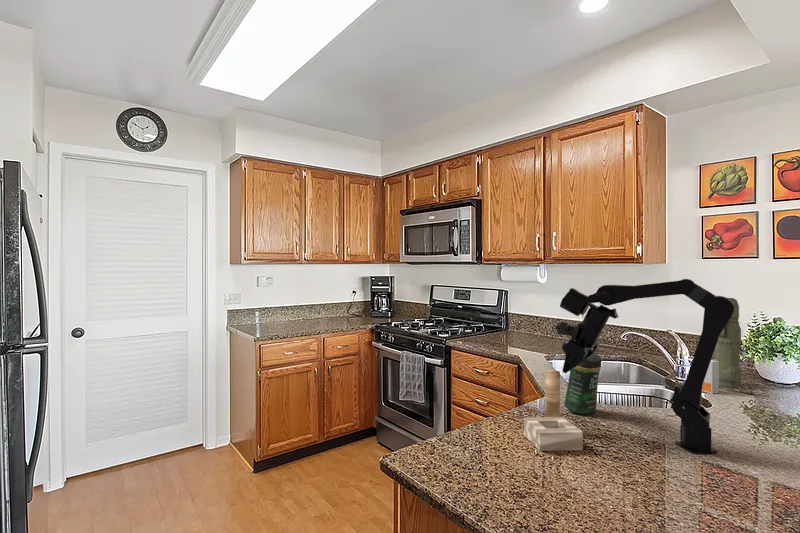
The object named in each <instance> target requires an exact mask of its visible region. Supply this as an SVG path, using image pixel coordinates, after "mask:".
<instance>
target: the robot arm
mask: <svg viewBox="0 0 800 533" xmlns="http://www.w3.org/2000/svg"><path fill="white" fill-rule="evenodd" d="M675 295H678V296H679V295H684V296H686V297H687V298H689V299H690V300H692V301H693V302H694V303H696V304H697V305H698V306H701V307H702V308H703V309H704V311H703V312H704V313H703V323H702V331H701V334H700V338H699V340H698V343H697V346H696V348H695V352H694V354H693V357H692V361H691V364H690V367H689V370H688V372H687V375H686V379H684V382H683V383H680V382H678V381H677V382H676V384H675V386H674V388H673V389H674V390H673V394H672V395H671V397H670V400H669V402H671V403H672V404H671V408H672V409H671V410H672V411H673V412H674V414H675V415H676V416H677V417H678V418H680V428H679V429H680V436H679V438H680V440H679V441H678V440H676V441H675V442H674V443H675V444H676V445H677V446H679V447H681V448H682V449H684V450H686V451H688V452H690V453H691V454H718V450H716V449H715V448H712V427H710V422H711V421H710V420H711V413H710V412H709V411H708V410H707V409H705V407H703V406H702V405H701V404H702V403H701V402H702V396H703V395H702V393H703V391H702V385H703V382H704V379H705V376H706V373H707V370H708V367H709V364H710V362H711V360H713V359H712V358H713V355H714V354H715V347H716V344H717V341H718V338H719V335H720V334H721V332H722V331H723V329H724V327H725V326H726V324H727V323H728V321H729V319H730V318H731V316H732V314H733V312H734V306H733V303H732V302H731V300H730V299H728V298H729V297H726V296H724V295H715V294H714V293H712V292H711V291H708V289H705V288H704V287H702V286H700V285H699V284H697V283H695V282H694V280H692V279H689V278H683V279H679V280H673V281H665V282H656V283H648V284H647V283H645V284H638V285H627V284H623V285H621V284H604V285H601V286H599V287H598V289H597V290H596V292H595V293H592V294H589V295H586V294H585V293H582V292H580V291H579V290H578V289H576V288H573V287H571V288H569V290H568V292H567V293H566V294H565V295H564V296H563V297H562V299H561V302H560V304H559V307H560V309H562V310H565V311H567V312H568V313H571V314H572V315H574V316H577V317H580V315H581V316H584V315H585V316H584V317H583V319H582V321H581V322H580V323H578V324H573V323H569V322H568V321H567V322H566V321H565V322H564V321H561V322H558V323H557V324H556V325H557V326H555V329H556V335H564V336H569V337H570V339H567V340H565V341H563V343H562V345H561V348H562V352H564V354H565V355H564V356H565V357H564V362H563V366H562V373H563V374H567V373H568V372H570V370H571V369H572V368H575V367H576V366H578V365H579V364H580V363H581V362H583V361H584V360H585V359H587V358H588V357H589V356H590V355H592V354H593V353H594V354H595V352H596V351H598V349H599V347H600V343H599V341H598V339H599V337H600V336H601V335H602V333H603V330H604V328H605V326H606V324H607V323H608V321H609V318H613V319H617V318H619V315H618V313H617V309H616V308H615V307H614V308H609V307H608V306H612V305H616V304H620V303H624V302H628V301H631V300H635V299H648V298H655V297H667V296H675ZM596 303H598V304H599V303H600V305H595V304H596Z"/></svg>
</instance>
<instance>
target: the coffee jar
mask: <svg viewBox="0 0 800 533" xmlns="http://www.w3.org/2000/svg"><path fill="white" fill-rule="evenodd" d="M602 360H603V359H602V358H601V356H600V355H599V354H596V353H595V352H594V353H593V354H592V355H590V356H589V357H588V358H587V359H585V360H584V361H583V362H581V363H580V364H579V365H578V366H576V367H575V368H572V369H571V370H570V371H569V377H568V382H567V389H566V393H565V399H564V407H565V408H566V409H568V411H570V412H572V413H577V414H579V415H587V414H591V413H594V412H595V411H596V409H597V400H598V398H597V397H598V386H599V384H598V383H599V376H600V372H601V368H602Z"/></svg>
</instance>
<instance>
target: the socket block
mask: <svg viewBox="0 0 800 533" xmlns="http://www.w3.org/2000/svg"><path fill="white" fill-rule="evenodd" d="M523 435H524V436H525V437H526V438H527V439H528V440H529V441H530V443H531V444H532V445H533V446H535V448H537V450H539V451H540V452H543V451H544V452H545V451H546V452H552V451H557V452H558V451H560V452H561V451H584V450H583V449H584V448H583V446H584V444H583V443H584V441H583V440H584V438H583V437H584V436H583V435H584V433H583V430H580V429H579V428H578V427H577V426H575V424H573V423H571V422H570V421H569V420H568V419H566V418H565V417H563V416H560V417H545V416H544V417H538V416H537V417H523Z"/></svg>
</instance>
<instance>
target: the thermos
mask: <svg viewBox="0 0 800 533" xmlns="http://www.w3.org/2000/svg"><path fill="white" fill-rule="evenodd" d="M727 298H728V299H730V300H731V302H732V303H733V306H734V312H733V314H732V316H731V318H730V319H729V321H728V323H727V324H726V326H725V327H724V329H723V331H722V332H721V334H720V335H719V338H718V341H717V344H716V347H715V350H714V360H715V361H719V387H720V386H722V387H721V388H725V387H731V388H730V389H734V388H737V389H739V388H738V387H741V386H742V385H741V382H742V371H741V368H740V367H741V366H740V363H741V362H740V359H741V358H740V352H741V351H740V344H741V343H742V329H741V328H742V327H741V325H740V322H739V318H740V305H739V303H738V299H735V298H734V297H727ZM741 388H742V387H741Z"/></svg>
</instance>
